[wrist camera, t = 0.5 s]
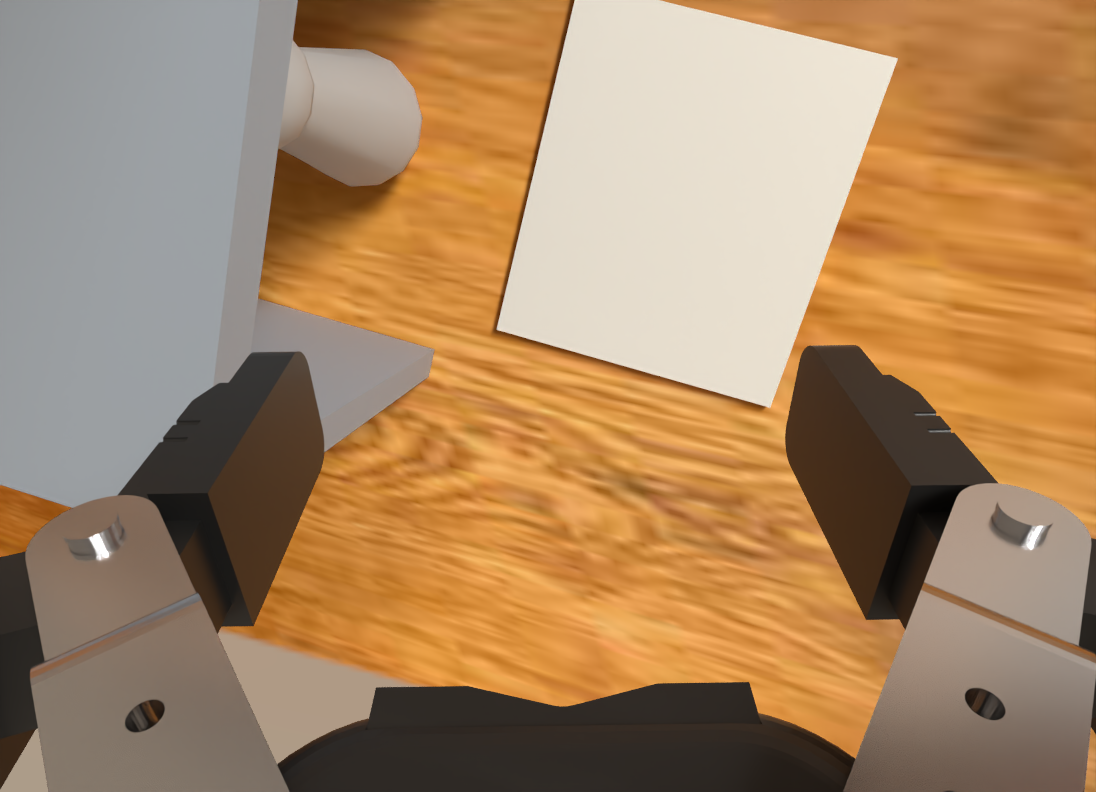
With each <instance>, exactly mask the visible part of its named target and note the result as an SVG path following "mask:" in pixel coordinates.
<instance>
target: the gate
mask: <svg viewBox="0 0 1096 792" xmlns="http://www.w3.org/2000/svg"><path fill="white" fill-rule="evenodd" d="M297 3H298V0H0V485H3V486H6V487H9V488H12V489H15V490H18V491H21V492H24V493H28V494H31V495H34V496H37V497H40V498H43V499H46V500H49V501H53V502H56V503H59V504H62V505H65V506H68V507H71V508H74V507H76V506H78V505H81V504H83V503H86V502H89V501H92V500H95V499H100V498H104V497H110V496H117V495H118V494H119V493H120V491H121V490H122V489H123V488H124V486H125V485H126V484H127V482H128V481H129V480H130V479H131V477H132V476H133V475H134V474H135V472H136V471H137V470H138V469H139V467H140V466H141V465H142V463H143V462H144V461H145V460H146V458H147V457H148V456H149V455H150V453H151V452H152V451H153V450H154V448H155V447H156V446H157V444H158V443H159V442H163V437H164V436H165V434H166V433H167V432H168V431H169V429H170V428H171V427H172V425H176V420H177V419H178V418H179V417H180V415H181V414H182V413H183V412H184V410H185V409H186V408H187V406H188V405H189V404H190V403H191V401H192V400H194V399H195V398H197V397H198V396H200V395H201V394H203V393H204V392H206V391H207V390H209V389H210V388H212V387H214V386H215V385H217V384H218V383H229V381H230V380H231V379H232V377H233V376H234V375H235V373H236V372H237V371H238V369H239V368H240V367H241V365H242V364H243V362H244V361H245V360H246V358H247V357H248V356H249V355H250V354H251V353H252V352H297V351H299V352H302V353H303V354H304V356H305V357H306V359H307V362H308V365H309V369H310V374H311V379H312V383H313V388H314V392H315V397H316V401H317V406H318V410H319V415H320V420H321V424H322V429H323V434H324V452H325V451H327V450H328V449H329V448H331V447H332V446H334V445H335V444H336V443H338V442H339V441H341V440H342V439H343V438H345V437H346V436H347V435H349V434H350V433H352V432H353V431H354V430H356V429H357V428H358V427H360V426H361V425H363V424H364V423H365V422H367V421H368V420H369V419H371V418H372V417H374V416H375V415H376V414H378V413H379V412H381V411H382V410H383V409H385V408H386V407H387V406H389V405H390V404H392V403H393V402H394V401H396V400H397V399H398V398H400V397H401V396H403V395H404V394H405V393H407V392H408V391H409V390H411V389H412V388H414V387H415V386H416V385H418V384H419V383H420V382H422V381H423V380H425V379H426V378H427V377H429V373H430V368H431V363H432V359H433V354H434V349H431V348H427V347H424V346H421V345H417V344H414V343H410V342H407V341H403V340H400V339H396V338H393V337H389V336H386V335H382V334H379V333H376V332H372V331H369V330H365V329H362V328H358V327H355V326H351V325H348V324H344V323H341V322H338V321H334V320H331V319H327V318H324V317H320V316H317V315H313V314H310V313H306V312H303V311H300V310H296V309H293V308H289V307H286V306H282V305H279V304H275V303H272V302H268V301H265V300H262V299H258V294H259V286H260V279H261V272H262V264H263V257H264V249H265V242H266V234H267V227H268V219H269V212H270V204H271V197H272V190H273V182H274V175H275V167H276V160H277V152H278V145H279V137H280V130H281V123H282V115H283V108H284V100H285V93H286V85H287V78H288V70H289V63H290V56H291V48H292V41H293V33H294V26H295V18H296V11H297Z"/></svg>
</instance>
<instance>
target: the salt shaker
mask: <svg viewBox="0 0 1096 792" xmlns="http://www.w3.org/2000/svg"><path fill="white" fill-rule="evenodd" d="M421 125H422V115H421V111H420V108H419V104H418V100H417V97H416V93H415V89H414V88H413V87H412V85H411V84H410V83H409V82H408V81H407V79H406V78H405V77H404V76H403V74H402V73H401V72H400V71H399V69H398V68H397V67H396V66H395V65H394V63H393V62H392V61H389V60H387V59H385V58H383V57H381V56H378V55H376V54H374V53H372V52H370V51H367V50H361V49H335V48H308V47H298V46H297V45H296V44H295V42H294V41H292V48H291V56H290V63H289V70H288V78H287V85H286V93H285V100H284V108H283V115H282V123H281V130H280V137H279V145H278V149H281V150H283V151H285V152H287V153H289V154H290V155H292V156H294V157H296V158H298V159H300V160H302V161H303V162H305V163H307V164H309V165H310V166H312V167H314V168H315V169H317V170H319V171H320V172H322V173H324V174H326V175H328V176H330V177H332V178H334V179H336V180H338V181H340V182H342V183H344V184H346V185H348V186H369V185H379V184H382V183H383V182H385V181H387V180H389V179H390V178H392V177H394V176H395V175H397V174H399V173H401V172H402V171H404V169H405V168H406V166H407V164H408V163H409V161H410V160H411V158H412V157H413V155H414V153H415V152H416V150H417V149H418V147H419V139H420V132H421Z"/></svg>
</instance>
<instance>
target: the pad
mask: <svg viewBox="0 0 1096 792" xmlns="http://www.w3.org/2000/svg"><path fill="white" fill-rule="evenodd" d="M897 59H898V58H894V57H890V56H886V55H882V54H877V53H873V52H869V51H865V50H861V49H857V48H853V47H849V46H845V45H840V44H836V43H832V42H828V41H824V40H820V39H816V38H812V37H807V36H803V35H799V34H795V33H791V32H787V31H783V30H779V29H775V28H770V27H766V26H762V25H758V24H754V23H750V22H746V21H742V20H738V19H733V18H729V17H725V16H721V15H717V14H713V13H709V12H705V11H701V10H696V9H692V8H688V7H684V6H680V5H676V4H672V3H668V2H664V1H659V0H575V1H574V5H573V9H572V14H571V18H570V22H569V26H568V31H567V35H566V39H565V43H564V47H563V52H562V56H561V60H560V64H559V68H558V73H557V77H556V81H555V85H554V90H553V94H552V98H551V102H550V106H549V111H548V115H547V119H546V123H545V127H544V132H543V136H542V140H541V144H540V149H539V153H538V157H537V161H536V165H535V170H534V174H533V178H532V182H531V186H530V191H529V195H528V199H527V203H526V208H525V212H524V216H523V220H522V224H521V229H520V233H519V237H518V241H517V245H516V250H515V254H514V258H513V262H512V267H511V271H510V275H509V279H508V283H507V288H506V292H505V296H504V300H503V304H502V309H501V313H500V317H499V321H498V326H497V330H499V331H503V332H506V333H510V334H513V335H517V336H520V337H524V338H527V339H531V340H534V341H538V342H541V343H545V344H548V345H552V346H555V347H559V348H562V349H566V350H569V351H573V352H576V353H580V354H583V355H587V356H590V357H594V358H597V359H601V360H604V361H608V362H611V363H615V364H619V365H622V366H626V367H629V368H633V369H636V370H640V371H643V372H647V373H650V374H654V375H657V376H661V377H664V378H668V379H671V380H675V381H678V382H682V383H685V384H689V385H692V386H696V387H699V388H703V389H706V390H710V391H713V392H717V393H720V394H724V395H727V396H731V397H734V398H738V399H741V400H745V401H748V402H752V403H755V404H759V405H762V406H766V407H769V408H770V407H771V404H772V401H773V398H774V396H775V393H776V390H777V388H778V385H779V382H780V379H781V377H782V374H783V371H784V368H785V366H786V363H787V360H788V357H789V355H790V352H791V349H792V347H793V344H794V341H795V338H796V336H797V333H798V330H799V327H800V325H801V322H802V319H803V316H804V314H805V311H806V308H807V305H808V303H809V300H810V297H811V295H812V292H813V289H814V286H815V284H816V281H817V278H818V275H819V273H820V270H821V267H822V264H823V262H824V259H825V256H826V253H827V251H828V248H829V245H830V243H831V240H832V237H833V234H834V232H835V229H836V226H837V223H838V221H839V218H840V215H841V212H842V210H843V207H844V204H845V202H846V199H847V196H848V193H849V191H850V188H851V185H852V182H853V180H854V177H855V174H856V171H857V169H858V166H859V163H860V160H861V158H862V155H863V152H864V150H865V147H866V144H867V141H868V139H869V136H870V133H871V130H872V128H873V125H874V122H875V119H876V117H877V114H878V111H879V108H880V106H881V103H882V100H883V98H884V95H885V92H886V89H887V87H888V84H889V81H890V78H891V76H892V73H893V70H894V67H895V65H896V62H897Z"/></svg>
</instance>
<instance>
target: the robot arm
mask: <svg viewBox="0 0 1096 792" xmlns="http://www.w3.org/2000/svg"><path fill="white" fill-rule="evenodd" d="M950 429H951V428H950V427H949V426H948V425H947V424H946V423H945V421H944V420H943V419H942V418H941V417H940V416H936V411H935V410H934V409H933V408H932V407H931V405H930V404H929V403H928V402H927V401H926V400H925V399H924V397H923V396H922V395H921V394H920V393H919V392H918V391H916V390H915V389H913V388H911V387H910V386H908V385H906V384H905V383H903V382H901V381H900V380H898V379H896V378H895V377H893V376H892V375H882V374H881V373H880V371H879V370H878V369H877V368H876V367H875V365H874V364H873V363H872V362H871V360H870V359H869V358H868V357H867V356H866V354H865V353H864V352H863V351H862V349H861V348H860V347H858V346H856V345H829V346H807V347H806V348H805V349H804V351H803V353H802V355H801V358H800V362H799V367H798V372H797V377H796V382H795V386H794V391H793V396H792V401H791V406H790V411H789V416H788V421H787V426H786V435H785V443H786V452H787V457H788V461H789V464H790V466H791V468H792V470H793V472H794V474H795V476H796V478H797V480H798V482H799V484H800V486H801V488H802V490H803V492H804V495H805V497H806V499H807V501H808V503H809V505H810V507H811V509H812V511H813V513H814V515H815V517H816V519H817V521H818V523H819V525H820V527H821V529H822V531H823V533H824V535H825V537H826V539H827V541H828V543H829V545H830V547H831V549H832V551H833V553H834V555H835V558H836V560H837V562H838V564H839V566H840V568H841V570H842V572H843V574H844V576H845V578H846V580H847V582H848V584H849V586H850V588H851V590H852V592H853V594H854V596H855V598H856V600H857V602H858V604H859V606H860V608H861V610H862V612H863V614H864V616H865V618H866V620H879V619H900V621H901V623H902V625H903V627H904V628H905V632H904V635H903V638H902V640H901V643H900V645H899V648H898V651H897V653H896V656H895V658H894V661H893V664H892V666H891V669H890V671H889V674H888V676H887V679H886V682H885V684H884V687H883V689H882V692H881V695H880V697H879V700H878V702H877V705H876V708H875V710H874V713H873V715H872V718H871V721H870V723H869V726H868V728H867V731H866V733H865V736H864V739H863V741H862V744H861V746H860V749H859V752H858V754H857V757H856V759H855V758H853V757H852V756H850V755H849V754H848V753H846V752H845V751H843V750H842V749H840V748H839V747H837V746H836V745H834V744H832V743H831V742H829V741H827V740H825V739H824V738H822V737H820V736H818V735H817V734H815V733H812V732H810V731H808V730H806V729H804V728H801V727H799V726H797V725H795V724H792V723H789V722H787V721H784V720H781V719H778V718H775V717H772V716H768V715H764V714H760V713H758V711H757V708H756V704H755V701H754V697H753V694H752V690H751V687H750V684H749V682H733V683H663V684H654V685H650V686H646V687H642V688H639V689H635V690H631V691H627V692H623V693H619V694H615V695H612V696H608V697H604V698H600V699H596V700H592V701H588V702H585V703H581V704H577V705H573V706H567V707H559V706H552V705H548V704H544V703H539V702H535V701H530V700H526V699H522V698H517V697H513V696H508V695H504V694H500V693H495V692H491V691H486V690H482V689H478V688H473V687H469V686H451V687H387V688H386V687H384V688H383V687H382V688H376V690H375V695H374V699H373V704H372V708H371V713H370V717H369V719H365V720H361V721H358V722H355V723H352V724H350V725H347V726H344V727H342V728H339V729H336V730H333V731H331V732H329V733H327V734H326V735H323V736H321V737H319V738H317V739H316V740H313V741H312V742H310V743H308V744H307V745H305V746H303V747H302V748H300V749H299V750H297V751H295V752H294V753H292V754H290V755H289V756H288V757H286V758H285V759H284V760H282V761H281V762H280V763H278V764H277V763H276V761H275V759H274V757H273V755H272V753H271V750H270V748H269V746H268V744H267V741H266V739H265V737H264V735H263V733H262V731H261V728H260V726H259V724H258V722H257V720H256V717H255V715H254V713H253V711H252V709H251V707H250V704H249V702H248V700H247V698H246V696H245V693H244V691H243V689H242V687H241V685H240V682H239V680H238V678H237V676H236V674H235V672H234V670H233V667H232V665H231V663H230V661H229V659H228V656H227V654H226V652H225V650H224V648H223V645H222V643H221V641H220V639H219V637H218V632H219V630H220V628H221V626H254V624H255V621H256V619H257V617H258V614H259V612H260V610H261V607H262V605H263V603H264V601H265V598H266V596H267V594H268V591H269V589H270V587H271V584H272V582H273V580H274V577H275V575H276V573H277V570H278V568H279V566H280V563H281V561H282V559H283V556H284V554H285V552H286V549H287V547H288V545H289V542H290V540H291V538H292V536H293V533H294V531H295V529H296V526H297V524H298V522H299V519H300V517H301V515H302V512H303V510H304V508H305V505H306V503H307V501H308V498H309V496H310V494H311V491H312V489H313V487H314V484H315V482H316V480H317V478H318V475H319V473H320V470H321V468H322V464H323V458H324V434H323V429H322V424H321V420H320V415H319V410H318V406H317V401H316V397H315V392H314V388H313V383H312V379H311V374H310V369H309V365H308V362H307V359H306V357H305V356H304V354H303V353H302V352H299V351H297V352H252V353H251V354H250V355H249V356H248V357H247V358H246V360H245V361H244V362H243V364H242V365H241V367H240V368H239V369H238V371H237V372H236V373H235V375H234V376H233V377H232V379H231V380H230V381H229V383H218V384H217V385H215V386H214V387H212V388H210V389H209V390H207V391H206V392H204V393H203V394H201V395H200V396H198V397H197V398H195V399H194V400H192V401H191V403H190V404H189V405H188V406H187V408H186V409H185V410H184V412H183V413H182V414H181V415H180V417H179V418H178V419H177V420H176V425H172V427H171V428H170V429H169V431H168V432H167V433H166V434H165V436H164V437H163V442H159V443H158V444H157V446H156V447H155V448H154V450H153V451H152V452H151V453H150V455H149V456H148V457H147V458H146V460H145V461H144V462H143V463H142V465H141V466H140V467H139V469H138V470H137V471H136V472H135V474H134V475H133V476H132V477H131V479H130V480H129V481H128V482H127V484H126V485H125V486H124V488H123V489H122V490H121V491H120V493H119V494H118V495H117V496H110V497H104V498H100V499H95V500H92V501H89V502H86V503H83V504H81V505H78V506H76V507H74V508H72V509H70V510H68V511H66V512H64V513H62V514H60V515H59V516H57V517H55V518H54V519H52V520H51V521H50V522H48V523H47V524H46V525H45V526H43V527H42V528H41V529H40V530H39V531H38V532H37V533H36V534H35V536H34V537H33V538H32V539H31V541H30V543H29V545H28V546H27V550H26V552H22V553H18V554H13V555H9V556H4V557H0V789H1V787H2V785H3V784H4V782H5V780H6V779H7V777H8V775H9V773H10V772H11V770H12V768H13V767H14V765H15V763H16V762H17V760H18V758H19V756H20V755H21V753H22V752H23V750H24V748H25V747H26V745H27V743H28V741H29V740H30V738H31V736H32V735H33V733H34V731H35V730H36V729H37V728H38V730H39V737H40V742H41V749H42V755H43V760H44V766H45V773H46V779H47V785H48V791H49V792H1084V790H1085V780H1086V770H1087V760H1088V750H1089V740H1090V730H1091V727H1092V729H1093V730H1094V732H1095V734H1096V539H1092V538H1091V537H1090V534H1089V532H1088V530H1087V529H1086V527H1085V525H1084V524H1083V523H1082V522H1081V521H1080V520H1079V519H1078V518H1077V517H1076V516H1075V515H1074V514H1073V513H1072V512H1070V511H1069V510H1068V509H1066V508H1065V507H1063V506H1062V505H1060V504H1059V503H1057V502H1055V501H1053V500H1052V499H1050V498H1047V497H1045V496H1043V495H1041V494H1039V493H1036V492H1033V491H1030V490H1027V489H1024V488H1020V487H1016V486H1012V485H1006V484H999V483H998V482H997V481H996V480H995V479H994V478H993V477H992V475H991V474H990V473H989V472H988V471H987V470H986V468H985V467H984V466H983V465H982V464H981V463H980V462H979V460H978V459H977V458H976V457H975V456H974V455H973V454H972V452H971V451H970V450H969V449H968V448H967V447H966V446H965V444H964V443H963V442H962V441H961V440H960V439H959V438H958V436H957V435H956V434H955V433H951V432H950Z"/></svg>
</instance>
